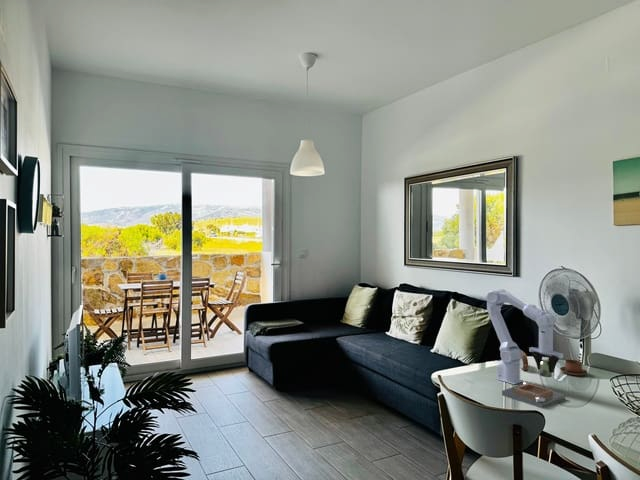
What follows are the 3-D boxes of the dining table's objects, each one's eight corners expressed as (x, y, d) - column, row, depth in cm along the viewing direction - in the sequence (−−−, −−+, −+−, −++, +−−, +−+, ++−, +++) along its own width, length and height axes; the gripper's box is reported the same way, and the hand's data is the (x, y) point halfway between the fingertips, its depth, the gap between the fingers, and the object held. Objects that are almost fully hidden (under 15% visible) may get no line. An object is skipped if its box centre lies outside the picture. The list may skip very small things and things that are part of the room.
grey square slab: (502, 395, 193) (502, 387, 193) (525, 387, 203) (525, 379, 203) (542, 408, 178) (542, 399, 178) (565, 399, 188) (565, 391, 188)
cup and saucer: (562, 368, 233) (562, 357, 233) (589, 373, 225) (589, 361, 225) (557, 374, 224) (557, 362, 224) (585, 379, 216) (585, 366, 216)
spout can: (537, 374, 199) (537, 358, 199) (543, 373, 202) (543, 356, 202) (548, 377, 195) (548, 360, 195) (554, 375, 198) (554, 359, 198)
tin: (528, 372, 226) (528, 355, 226) (522, 371, 227) (522, 355, 227) (521, 364, 241) (521, 348, 241) (515, 363, 242) (515, 348, 242)
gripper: (566, 342, 195) (566, 373, 195) (535, 336, 207) (535, 365, 207) (558, 344, 191) (558, 376, 191) (526, 338, 203) (526, 368, 203)
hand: (545, 370), depth 199 cm, fingers closed on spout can, 5 cm apart
